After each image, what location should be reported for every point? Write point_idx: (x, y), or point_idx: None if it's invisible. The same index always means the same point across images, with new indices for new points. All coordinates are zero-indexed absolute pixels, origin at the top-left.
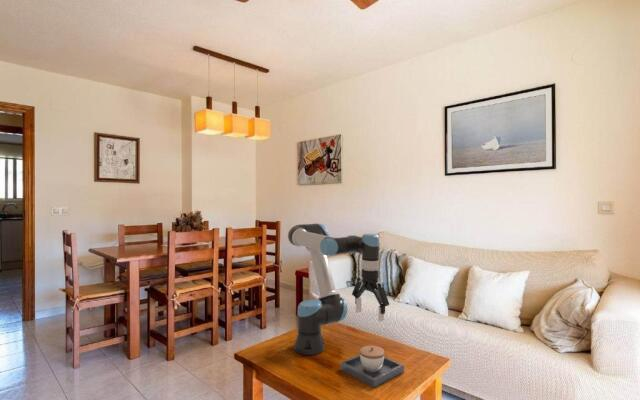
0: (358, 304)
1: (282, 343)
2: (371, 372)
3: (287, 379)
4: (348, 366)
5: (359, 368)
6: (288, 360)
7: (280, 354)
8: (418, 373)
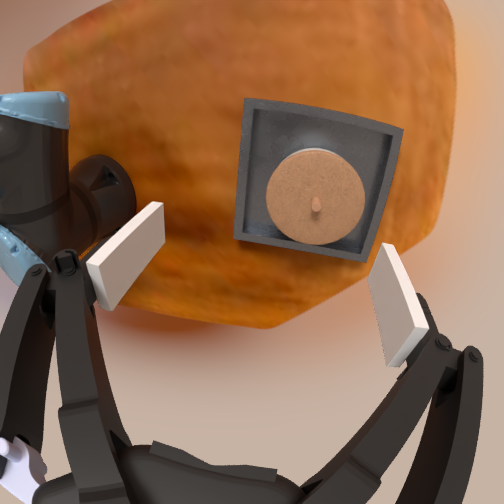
0: (135, 264)
1: None
2: None
3: (193, 319)
4: (267, 243)
5: None
6: None
7: None
8: (431, 110)
